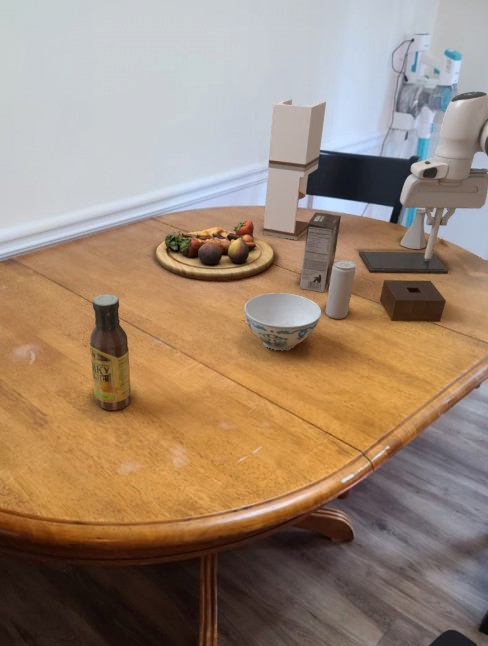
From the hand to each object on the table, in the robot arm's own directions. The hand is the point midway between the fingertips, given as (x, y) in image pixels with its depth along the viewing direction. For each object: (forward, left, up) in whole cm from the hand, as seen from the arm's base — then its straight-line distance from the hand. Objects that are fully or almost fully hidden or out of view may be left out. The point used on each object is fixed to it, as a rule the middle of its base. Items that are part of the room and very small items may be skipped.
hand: (435, 224), depth 144 cm
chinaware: (+43, +44, -11) cm, 63 cm away
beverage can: (+29, +31, -11) cm, 44 cm away
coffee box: (+31, +14, -11) cm, 36 cm away
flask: (-1, -14, -11) cm, 18 cm away
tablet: (+6, 0, -10) cm, 12 cm away
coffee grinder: (+34, -24, -11) cm, 43 cm away
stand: (+12, +28, -10) cm, 32 cm away
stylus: (0, 0, -10) cm, 10 cm away
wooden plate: (+56, -2, -11) cm, 57 cm away
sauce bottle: (+74, +66, -11) cm, 100 cm away
